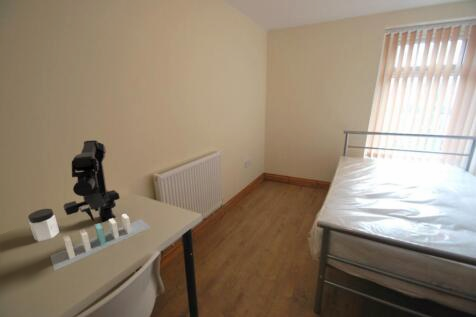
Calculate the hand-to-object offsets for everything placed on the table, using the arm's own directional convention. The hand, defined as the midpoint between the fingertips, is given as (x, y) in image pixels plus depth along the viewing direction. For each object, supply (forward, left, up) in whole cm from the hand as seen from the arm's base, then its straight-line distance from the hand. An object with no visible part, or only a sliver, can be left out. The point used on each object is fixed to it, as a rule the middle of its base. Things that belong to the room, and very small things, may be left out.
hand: (96, 219), depth 90 cm
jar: (-24, -16, -12) cm, 31 cm away
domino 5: (0, +11, -12) cm, 16 cm away
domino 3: (0, 0, -12) cm, 12 cm away
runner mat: (0, +2, -12) cm, 12 cm away
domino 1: (0, -11, -12) cm, 16 cm away
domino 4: (0, +6, -12) cm, 13 cm away
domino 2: (0, -5, -12) cm, 13 cm away
